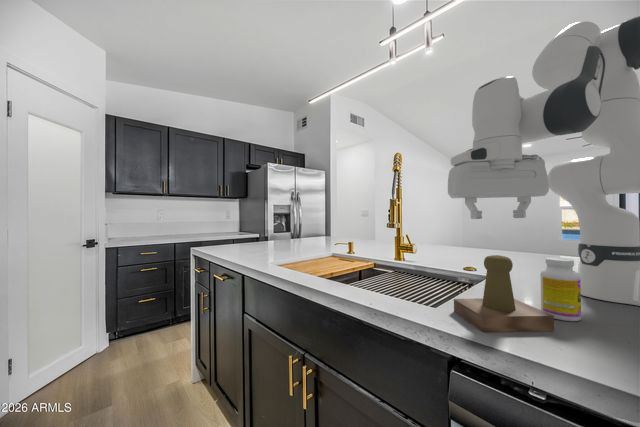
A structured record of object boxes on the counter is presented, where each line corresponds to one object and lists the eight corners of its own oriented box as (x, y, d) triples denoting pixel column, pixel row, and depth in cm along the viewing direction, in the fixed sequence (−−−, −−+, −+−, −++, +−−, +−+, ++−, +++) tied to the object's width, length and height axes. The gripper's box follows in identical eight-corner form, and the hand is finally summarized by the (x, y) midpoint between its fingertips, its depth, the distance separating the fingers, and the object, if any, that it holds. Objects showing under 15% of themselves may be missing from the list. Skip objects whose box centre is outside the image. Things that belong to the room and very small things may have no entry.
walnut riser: (512, 310, 62) (512, 298, 62) (554, 331, 51) (553, 315, 51) (453, 311, 62) (453, 298, 62) (483, 332, 51) (482, 316, 51)
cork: (522, 312, 53) (521, 258, 54) (490, 311, 54) (489, 257, 54) (505, 302, 59) (504, 253, 60) (477, 301, 60) (476, 253, 60)
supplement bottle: (585, 325, 54) (584, 262, 54) (544, 318, 58) (543, 260, 58) (576, 314, 60) (575, 258, 60) (538, 309, 63) (537, 255, 63)
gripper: (531, 157, 60) (533, 217, 60) (443, 159, 60) (444, 219, 60) (557, 150, 54) (558, 217, 54) (458, 152, 54) (459, 219, 54)
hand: (497, 218), depth 57 cm, fingers open, 8 cm apart
